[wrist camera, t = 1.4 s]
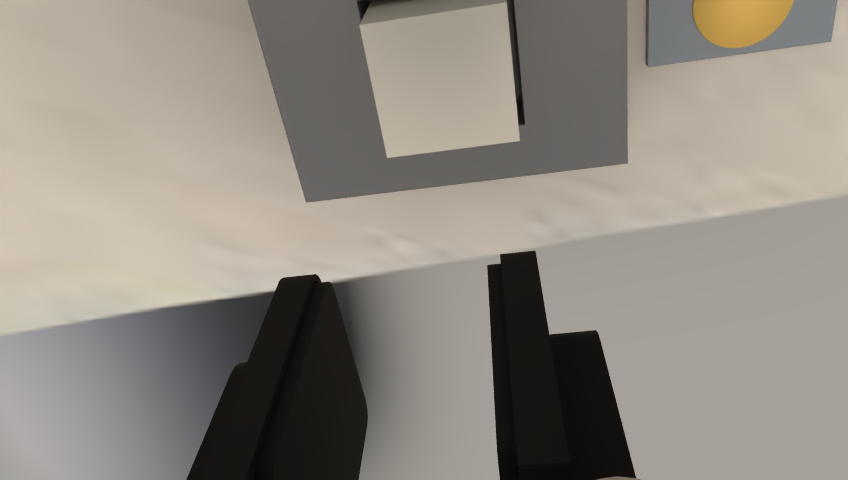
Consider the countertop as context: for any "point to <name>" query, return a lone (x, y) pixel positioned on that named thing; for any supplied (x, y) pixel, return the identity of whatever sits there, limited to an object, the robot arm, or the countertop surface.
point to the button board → (534, 154)
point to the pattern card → (732, 27)
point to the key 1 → (441, 74)
